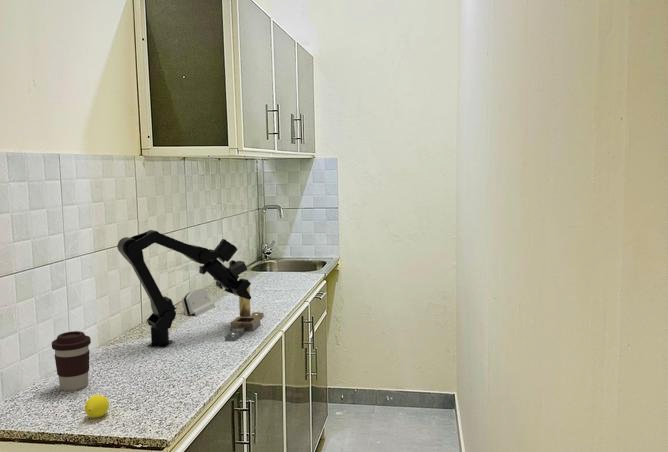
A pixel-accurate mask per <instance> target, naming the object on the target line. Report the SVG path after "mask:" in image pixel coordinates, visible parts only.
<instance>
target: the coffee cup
mask: <svg viewBox="0 0 668 452" xmlns="http://www.w3.org/2000/svg"><path fill="white" fill-rule="evenodd" d="M91 341H92V340H91V337H90V336H89V335H86V334H85V332H84V331H78V330H75V331H66V332H63V333H61V334H60V333H59V334H58V335H57V337H56V339H54V340H52V341H51V349H52V350H53V351H54V353H55V354H54V360H55V361H54V362H55V367H56V373H57V376H58V382H59V387H60V388H59V389H61V390H62V391H66V392H72V391H78V390H81V389H83V388H85V387H87V386H88V384H89V371H90V349H89V347H90V346H89V345H91V343H92V342H91Z"/></svg>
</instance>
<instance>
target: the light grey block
mask: <svg viewBox="0 0 668 452" xmlns="http://www.w3.org/2000/svg"><path fill="white" fill-rule="evenodd" d="M181 304H182V309H183V312H184V315H185V316H186V317H188V316H189V315H193V314H194V315H195V317H198V316H200V315H202V314H204V313H206V312H208V311H210V310H211V309H213V308H215V307H216V305H215V303H214V302H213V301H211V298H210V296H209V294H208V292H207V290H206V289H204V288H197V289H193V290H191V291H189V292H187V293H185V294H184V296H183V297H182V298H181Z"/></svg>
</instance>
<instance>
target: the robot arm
mask: <svg viewBox="0 0 668 452" xmlns="http://www.w3.org/2000/svg"><path fill="white" fill-rule="evenodd" d="M153 244H156V245H159V246H161V247H163V248H164V247H165V248H168V249H170V250H172V251H175V252H177V253H180V254H182V255H183V256H185V257H186V258H188V259H189V260H191V261H192V262H194V263H197V264H200V265H199V266H198V268H199V270H198V273H199V274H201V275H205V274H206V273H207V274H209V275H210V276H211V277H212V278H213V281H215V286H216V287H218V289H220V290H224V292H226V293H230V294H233V295H234V296H237V297H239V296H240V297H243V298H246V299H249V300H250V301H251V299H252V296H251V293H250V294H249V292H248V291H247V288H248V287H249V286H250V287H251V284H252V283H251V281H249V280H248V279H246V278H240V275H241V274H243V273H244V272H246V271H248V267H247V264H246V263H245V261H242V260H237V261H236V260H235V259H232V258H233V256H234V255H235V254H236V253H237V251H238V247H237V246H236V245H234V244H232V243H231V242H229V241H227V239H225V238H222V239H221V240H220V241H219V243H218V244H217V246H216V247H215V248H214V249H211V248H207V247H203V246H199V245H195V244H188V243H185V242H183V241H181V240H178V239H176V238H173V237H170V236H168V235H166V234H163V233H161V232H159V231H157V230H154V229H149V230H147V231H145V232H142V233H139V234H137V235H133V236H131V237H129V236H128V237H127V236H124V237H122V238H120V240H118V242H117V244H116V245H117V246H116V247H117V250H118V252H119V253H120V255H122V258H124V259H125V260H126V261H127V262H128V263H129V264H130V265H131V267H132V269H133V270H134V273H135V275H136V276H137V278H138V280H139V283H140V284H141V286H142V287H143V289H144V291H145V293H146V295H147V296H148V298H149V301H150V308H151V312H152V313H151V314H150V315H149V317H148V318H147V319H146V322H147V324H148V326H150V340H151V342H150V343H148V344H147V348H148V347H151V348H166V347H167V346H169V345H171V344H172V343H174V340H173V339H172V340H171V339H170V335H169V330H170V329H171V327H172V324H173V321H175V319H176V316H177V312H176V310H177V307H176V306H175V305H174V302H173V300H172V299H171V298H169V297H168V296H165V295H163V294H162V291H160V288H159V286H158V284H157V283H156V281H155V279H154V277H153V275H152V274H151V271H150V269H149V267H148V266H147V264H146V262H145V257H144V256H145V255H144V252H143V250H145V249H147V248H149V247H150V246H152V245H153ZM225 262H226V263H228V262H229V263H228V266H226V265H224V264H223V263H225ZM238 279H239V280H238Z"/></svg>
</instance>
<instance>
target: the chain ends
mask: <svg viewBox="0 0 668 452" xmlns="http://www.w3.org/2000/svg"><path fill="white" fill-rule="evenodd" d="M264 314H265V313H264V312H261V311H258V312H257V311H256V312H255V311H254V312H252V313H251V315H250V316H248V317H241V316H237V317H236V318H234V319H233V320H231V322H230V330H229V331H228V332H227V333H226V335H225V336H224V341H225V342H226V341H229V342H235V341H237V340H238V339H240V337H241V336H243V335H244V334H245V333H246V332H255V331H256V330H257V329H258V328H259V327H260V326H261V320H262V319H263V318H264Z"/></svg>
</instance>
